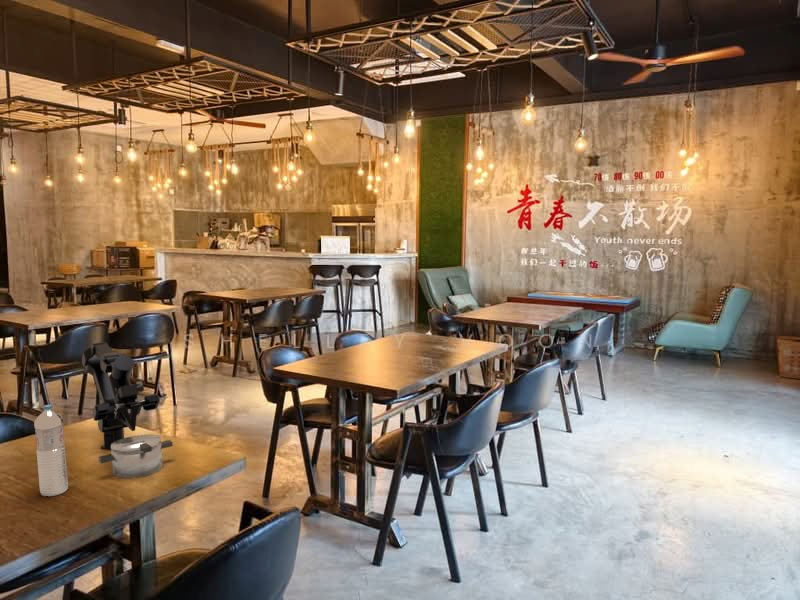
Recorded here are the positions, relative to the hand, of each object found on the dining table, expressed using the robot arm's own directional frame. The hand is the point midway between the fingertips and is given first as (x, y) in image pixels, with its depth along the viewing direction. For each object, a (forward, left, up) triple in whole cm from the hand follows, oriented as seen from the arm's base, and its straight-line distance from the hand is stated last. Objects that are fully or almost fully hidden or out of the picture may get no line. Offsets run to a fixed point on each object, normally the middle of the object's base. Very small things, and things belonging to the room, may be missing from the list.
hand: (133, 430), depth 176 cm
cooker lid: (+3, +3, -4) cm, 6 cm away
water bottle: (+19, -13, -12) cm, 26 cm away
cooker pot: (+1, +1, -12) cm, 12 cm away
